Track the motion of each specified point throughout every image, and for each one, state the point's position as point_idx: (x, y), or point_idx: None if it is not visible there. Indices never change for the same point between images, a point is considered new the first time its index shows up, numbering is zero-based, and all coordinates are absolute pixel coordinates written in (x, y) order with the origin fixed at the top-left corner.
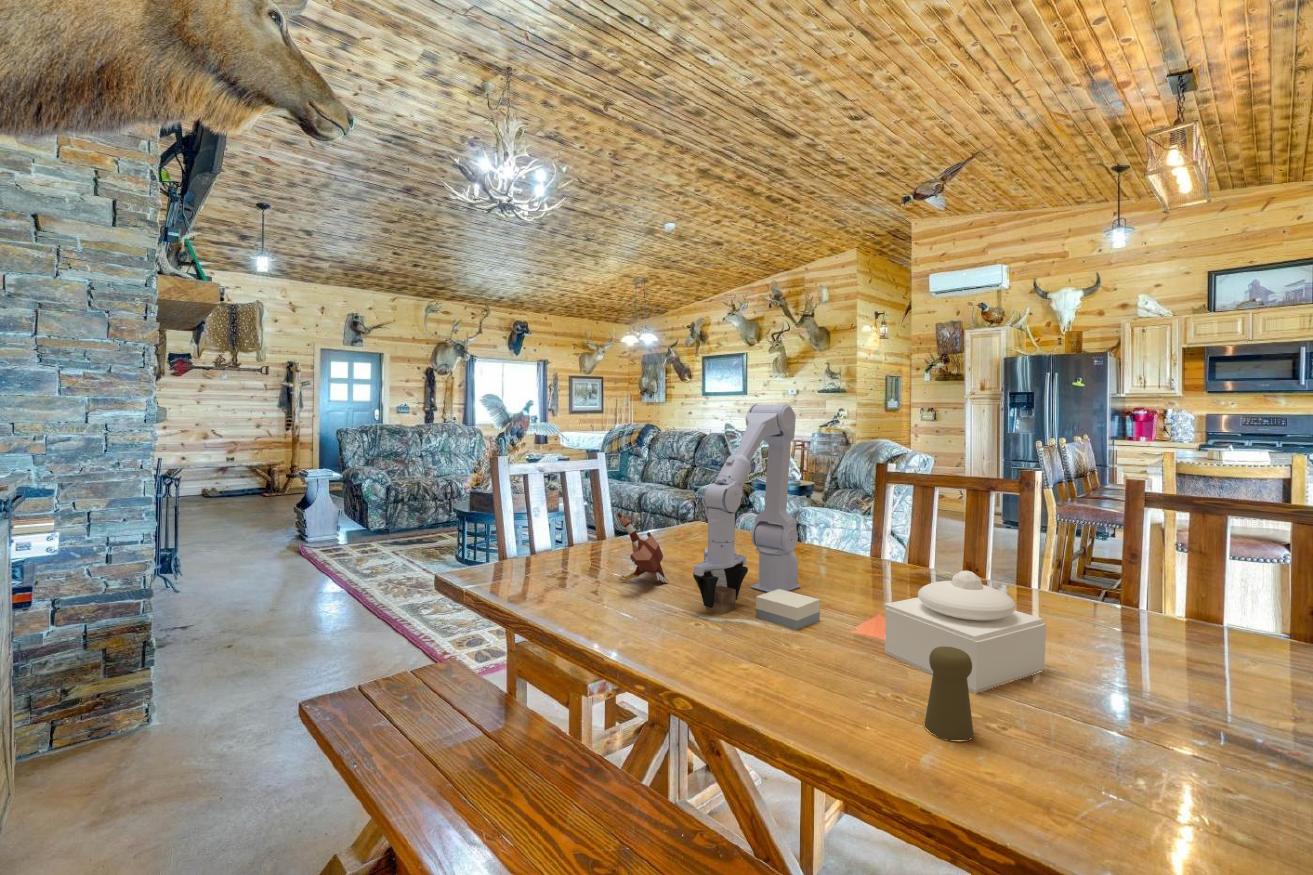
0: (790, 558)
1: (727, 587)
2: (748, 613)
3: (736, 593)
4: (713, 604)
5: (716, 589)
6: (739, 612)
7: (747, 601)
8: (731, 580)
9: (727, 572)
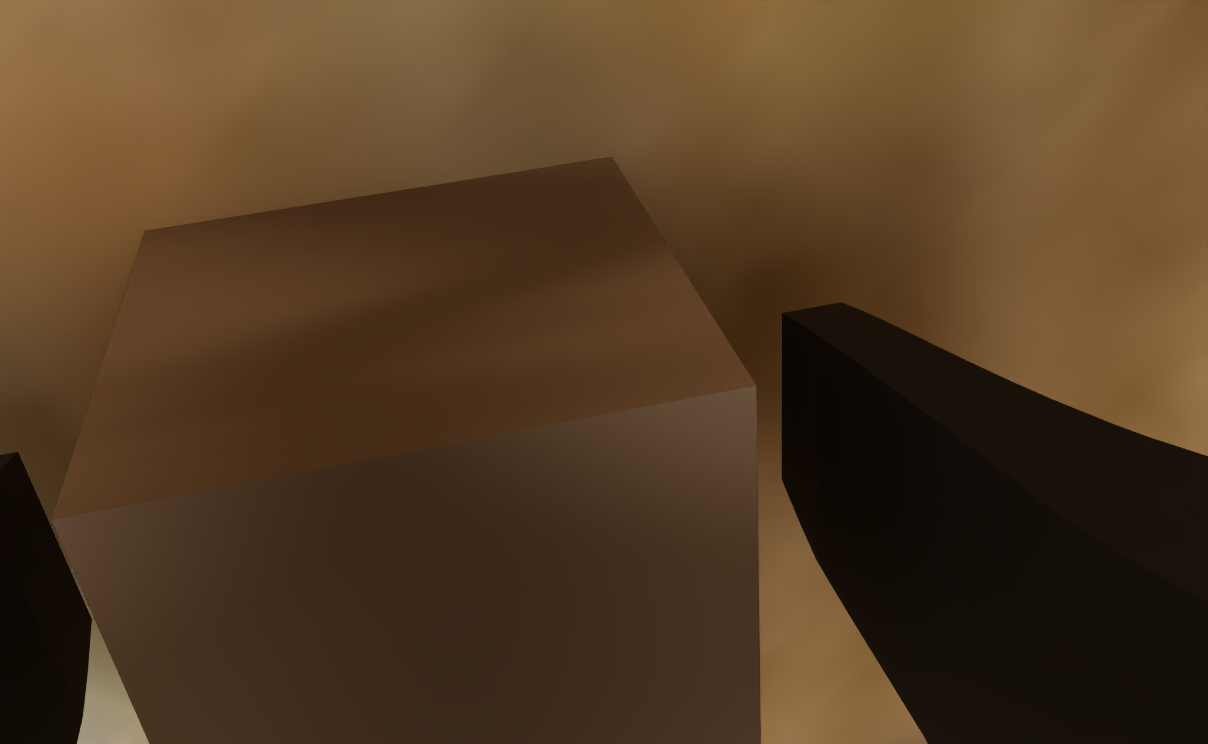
0: None
1: (738, 638)
2: None
3: (847, 604)
4: (80, 687)
5: (348, 668)
6: None
7: (1151, 270)
8: (1011, 681)
9: (1186, 738)
